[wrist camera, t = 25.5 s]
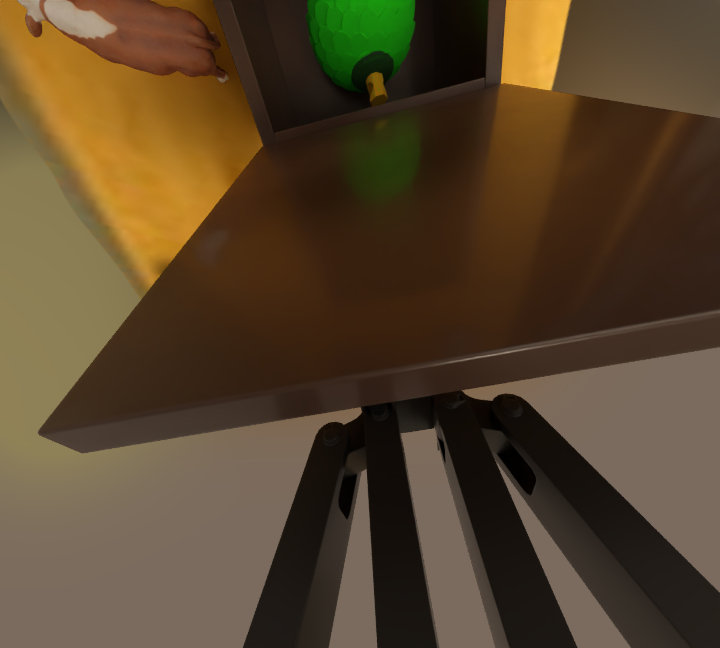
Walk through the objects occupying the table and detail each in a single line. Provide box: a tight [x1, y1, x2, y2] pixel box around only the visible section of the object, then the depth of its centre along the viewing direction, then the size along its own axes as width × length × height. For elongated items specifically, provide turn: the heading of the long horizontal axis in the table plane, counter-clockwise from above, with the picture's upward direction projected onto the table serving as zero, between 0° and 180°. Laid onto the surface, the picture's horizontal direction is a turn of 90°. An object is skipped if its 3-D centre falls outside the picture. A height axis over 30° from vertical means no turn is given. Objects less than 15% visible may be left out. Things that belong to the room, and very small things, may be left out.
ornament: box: [306, 0, 415, 107], centre depth 21 cm, size 8×8×10 cm
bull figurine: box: [17, 0, 229, 83], centre depth 22 cm, size 4×13×8 cm, turn 77°
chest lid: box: [38, 83, 720, 453], centre depth 11 cm, size 20×16×1 cm
